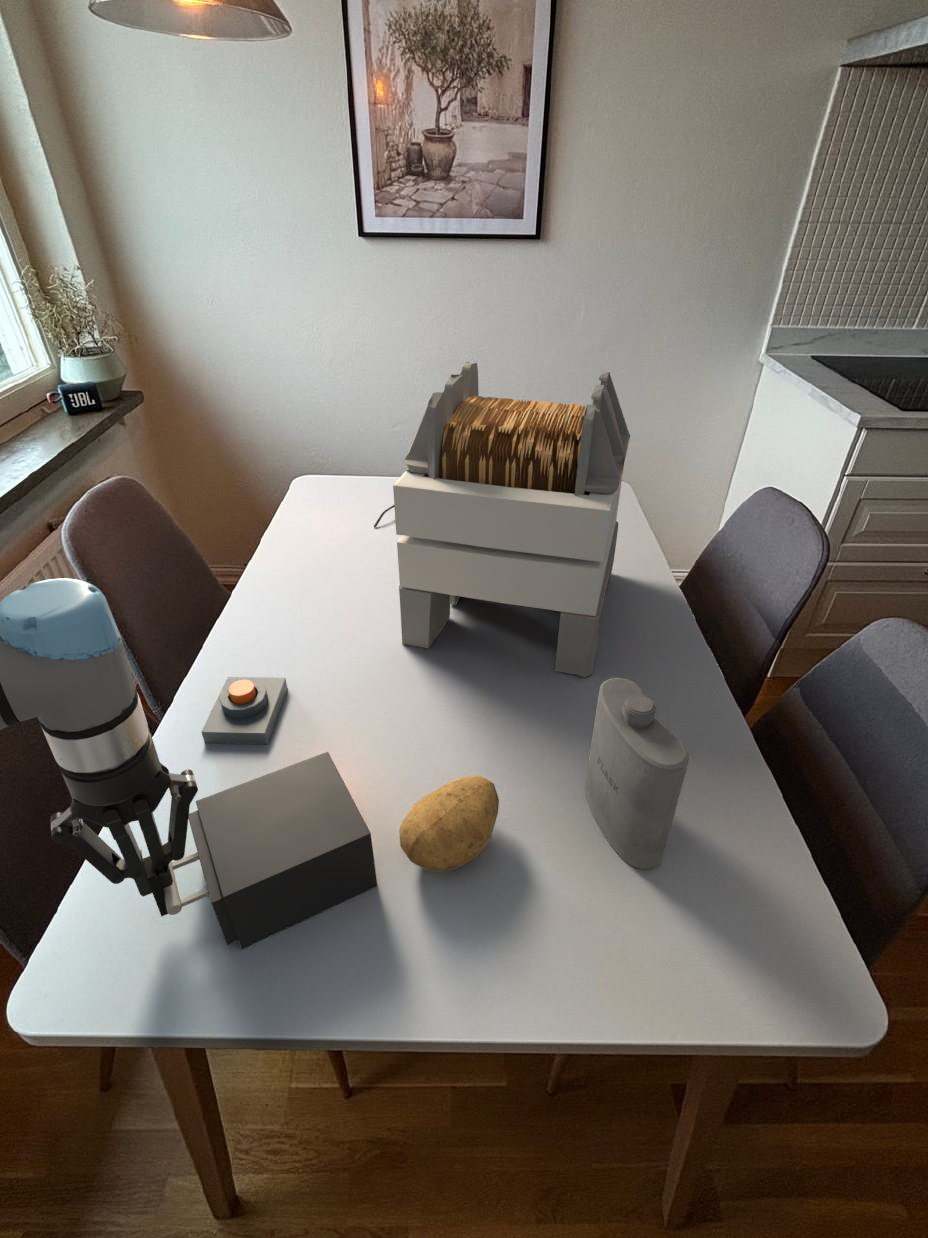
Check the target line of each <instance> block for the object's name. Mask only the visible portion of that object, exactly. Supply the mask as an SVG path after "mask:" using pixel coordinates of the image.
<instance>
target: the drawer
mask: <svg viewBox="0 0 928 1238" xmlns="http://www.w3.org/2000/svg"><path fill="white" fill-rule="evenodd" d="M188 823H189V826H190V829H191V834H192V837H193V840H194V844H195V848H196V852H194V853H192V854H190V855H187V856H184V857H183V858H182V859H180V860H178V861H171V862H170V863H169V867H170V870H171V874H172V879H173V883H172V885H171V886H168V887H165V888H163V891H164V896H165V903H166V908H167V912H168V914H167V915H170V916H173V915H177V914H180V912H181V911H182V909H183V907H186V906H188V905H191V904H193V903H195V902H197V901H199V900H203V899H204V898H207V897H209V900H210V903H211V907H212V909H213V912H214V914H215V917H216V919H217V922H218V925H219V927H220V930H221V933H222V936H223V938H224V941H225V944H226V946H229V945H232V944H234V943H236V942H239V941H238V938H237V935H236V932H235V929H234V927H233V924H232V921H231V918H230V915H229V913H228V910H227V907H226V904H225V901H224V899H223V895H222V892H221V888H220V885H219V881H218V878H217V875H216V871H215V868H214V864H213V861H212V857H211V854H210V850H209V847H208V843H207V840H206V836H205V833H204V829H203V826H202V822H201V819H200V815H199V812H198V809H197V810H195V811H192V812H189V817H188ZM197 861H199V863H200V867H201V870H202V875H203V878H204V883H205V887H206V888H204V889H202V890H199V891H197V892H195V893H192V894H190V895H187V896H185V897H182V898H181V897H180V893H179V888H178V884H177V880H176V875H175V870H178V869H179V868H182V867H185V866H187V865H189V864H192V863H194V862H197Z"/></svg>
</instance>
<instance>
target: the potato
mask: <svg viewBox="0 0 928 1238" xmlns="http://www.w3.org/2000/svg"><path fill="white" fill-rule="evenodd" d="M499 806H500V799H499V795H498V792H497V789H496V786H495V783H494V782H492V781H491V780H489V779H487V778H485V777H484V776H482V775H469V776H461V777H459V778H457V779H455V780H452V781H450V782H448V783H446V784H444V785H442V786H440V787H438V788H437V789H434V790H433V791H431V792H430V793H428V794H427V795H425V796H423V797H422V798H421V799H420V800H418V801H417V802H416V803H414V804H413V806H412V807H411V808H410V809H409V811H408V813H406V815H405V817H404V819H403V820H402V822H401V824H400V826H399V831H398V834H399V845H400V848H401V850H402V851H403V853H404V854H405V855H406V856H407V858H408V860H409V861H410V862H411V863H413V864H414V865H416V866H419V867H420V868H422V869H424V870H426V871H428V872H437V873H438V872H439V873H446V872H450V871H452V870H456V869H459V868H461V867H462V866H464V865H466V864H468V863H469V862H471V861H472V860H473V859H475V858H476V857H478V856H479V855H480V854H481V852H482V851H483V849H484V848H485V846H486V845H487V844H488V843H489V842H490V840H491V839H492V835H493V833H494V828H495V825H496V821H497V819H498V814H499V808H500V807H499Z"/></svg>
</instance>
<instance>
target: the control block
mask: <svg viewBox="0 0 928 1238" xmlns="http://www.w3.org/2000/svg"><path fill="white" fill-rule="evenodd" d="M239 680H250V681H252V682H253V684H254V687H255V691H256V697H255V698H254V699H253V700H252V701H251V702H248V703H245V704H235V703H233V702H232V701H231V698H230V695H229V687H230V685H231V684H233V683H234V682H236V681H239ZM287 691H288V683H287V678H286V677H252V676H251V677H250V676H227V677H226V680H225V682H224V684H223V686H222V689H221V691H220V692H219V695H218V697H217V698H216V701H215V703H214V705H213V707H212V709H211V711H210V712H209V716H208V717H207V720H206V721H205V724H204V725H203V727H202V729H201V731H200V732H201V735H202V738H203V742H204V744H227V745H228V744H231V745H232V744H233V745H268V743H269V741H270V738H271V735H272V732H273V730H274V727H275V724H276V721H277V719H278V716H279V714H280V710H281V708H282V705H283V702H284V700H285V697H286V694H287Z"/></svg>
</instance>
